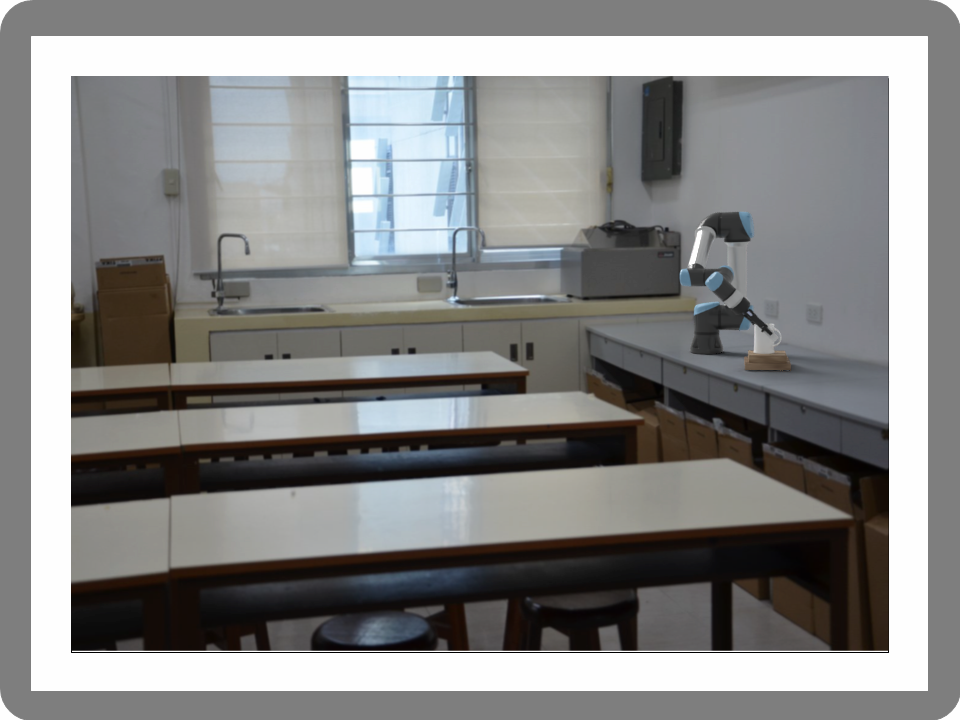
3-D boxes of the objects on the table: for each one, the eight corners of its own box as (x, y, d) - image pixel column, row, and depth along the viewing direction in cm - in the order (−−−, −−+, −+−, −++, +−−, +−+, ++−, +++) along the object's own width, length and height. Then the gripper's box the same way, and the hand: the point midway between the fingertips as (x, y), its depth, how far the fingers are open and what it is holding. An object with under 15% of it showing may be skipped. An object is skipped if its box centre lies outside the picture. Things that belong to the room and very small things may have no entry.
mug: (785, 353, 398) (786, 324, 397) (774, 355, 393) (775, 326, 391) (760, 350, 407) (760, 322, 405) (749, 352, 401) (749, 324, 400)
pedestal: (744, 363, 412) (744, 349, 411) (788, 363, 408) (788, 350, 407) (744, 370, 394) (745, 356, 393) (790, 371, 390) (791, 356, 389)
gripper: (724, 306, 411) (760, 340, 412) (735, 312, 386) (773, 348, 387) (737, 293, 410) (772, 327, 411) (749, 298, 385) (786, 335, 386)
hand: (773, 337), depth 399 cm, fingers open, 13 cm apart
